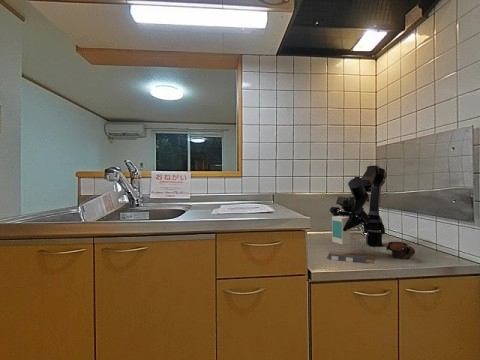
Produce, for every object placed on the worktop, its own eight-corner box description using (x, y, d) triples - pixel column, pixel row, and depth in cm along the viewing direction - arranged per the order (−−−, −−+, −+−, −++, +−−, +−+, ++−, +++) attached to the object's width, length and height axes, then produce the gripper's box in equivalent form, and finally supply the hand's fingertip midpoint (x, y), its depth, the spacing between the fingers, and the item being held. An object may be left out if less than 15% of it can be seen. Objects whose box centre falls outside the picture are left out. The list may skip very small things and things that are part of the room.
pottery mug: (380, 259, 120) (381, 240, 124) (394, 266, 124) (394, 248, 127) (409, 258, 110) (408, 238, 114) (423, 266, 114) (422, 246, 117)
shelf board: (330, 253, 129) (330, 251, 129) (373, 257, 121) (373, 255, 121) (326, 260, 117) (326, 258, 117) (374, 265, 110) (374, 263, 110)
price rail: (328, 261, 117) (328, 253, 117) (365, 264, 111) (365, 257, 111) (328, 261, 116) (328, 254, 116) (365, 265, 110) (365, 258, 110)
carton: (339, 240, 125) (339, 215, 125) (349, 243, 120) (349, 217, 120) (332, 241, 123) (331, 216, 123) (342, 244, 118) (341, 218, 118)
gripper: (332, 189, 132) (313, 214, 127) (364, 190, 114) (343, 219, 110) (345, 205, 135) (327, 230, 130) (378, 209, 118) (359, 238, 113)
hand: (338, 229), depth 121 cm, fingers closed on carton, 6 cm apart
